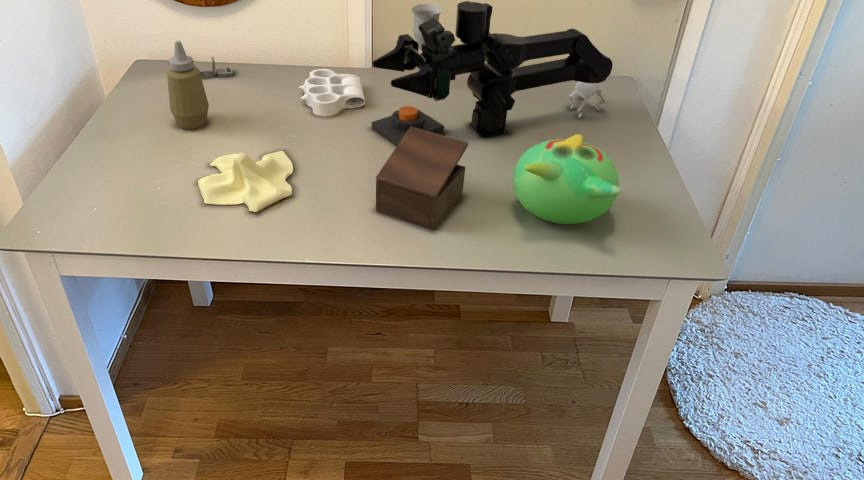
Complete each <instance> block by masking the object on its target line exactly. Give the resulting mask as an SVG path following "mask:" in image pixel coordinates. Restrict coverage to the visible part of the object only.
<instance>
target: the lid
mask: <svg viewBox="0 0 864 480" xmlns="http://www.w3.org/2000/svg"><path fill="white" fill-rule="evenodd" d="M468 147H469V142H468V141H464V140H461V139H457V138H453V137H450V136H447V135H443V134H436V133H433V132H429V131H426V130H422V129H419V128H415V127H412V126H410V128H409V129H408V131H407V132H406V134H405V135H404V137H403V138H402V139H401V141H400V142H399V144H398V145H397V146H395V148H394V150H393V151H392V153H391V154H390V155H389V157H388V158H387V160H386V162H385V163H384V164H383V166H382V168H381V169H380V170H379V171H378V173H377V175H376V177H375V180H376V181H381V182H384V183H387V184H390V185H393V186H396V187H399V188H402V189H405V190H408V191H412V192H415V193H418V194H421V195H424V196H427V197H430V198H433V199H436V198H437V196H438V194H439V193H440V191H441V189H442V188H443V186H444V185H445V183H446V181H447V180H448V178H449V176H450V175H451V173H452V171H453V170H454V168H455V167H456V165H457V164H458V163H459V162H460V160H461V158H462V157H463V155H464V153H465V152H466V150H467V148H468Z"/></svg>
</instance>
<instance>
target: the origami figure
mask: <svg viewBox="0 0 864 480" xmlns="http://www.w3.org/2000/svg"><path fill="white" fill-rule="evenodd" d="M601 92H602V89H600V88H598V87H597V86H595V85H593V83H583V82H578V81H577V82H576V84H575V88H574V90H573V92H572V93H570V95H569V96H568V98H569V100H570V102H571V104H572V105H571V106H570V110H573V108H574V106H575V104H574V101H573V98H572V96H574V95H575V94H577V95H578V96H579V98H581V99H584V100H583V102H582V103H581V105H580V107H578V109H577V112H578V113H579V115H578V116H577V117H578V118H581V117H582V115H583V112H582V109H583V108H584V106H585V104H586V102H587V100H588V99H590V98H591V97H592V96H594V95H595V94H596V95H597V96H598V97H599V99H601V100H598V101H596V102H595V103H593V104H592V107H594V108H595V109H596V110H597V111H599V112H600V111H601V109H600V108H598V107H597V106H599V105H601V104H605V103H607V102H608V100H607V99H606V97H604V95H603V93H601Z"/></svg>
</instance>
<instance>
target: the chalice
mask: <svg viewBox="0 0 864 480" xmlns="http://www.w3.org/2000/svg"><path fill="white" fill-rule="evenodd" d="M411 11H412V14H413V17H412V18H413V19H412V33H413V38H414V40H415V41H416V42H417V43H418V44H419V47H418V50H420V51H422V50H421V44H425V42H424V40H423V36H422V33H421V31H420V30H419V27H418V26H419V25H420V24H422V23H424V22H426V21H428V20H429V19H431V18H434V19H436V20H437V21H438V22H439V23H440V15H441V13H442V11H443V10H442V8H441V7H440V6H438V5H436V4H431V3H420V4H416V5H414V6H412V7H411Z"/></svg>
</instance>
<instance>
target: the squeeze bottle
mask: <svg viewBox="0 0 864 480" xmlns="http://www.w3.org/2000/svg"><path fill="white" fill-rule="evenodd" d="M173 54H174V55H173V56H172V57H171V58H170V59H169V60H168V61H169V62H168V63H169V67H170V68H169V69H168V70H167V72H166V77H167V89H168V102H169V111H170V112H171V115H172V116H173V118H174V120H175V121H176V123H177V124H178V126H179V127H180V128H182V129H187V130H193V129H198V128H201V127H203V126H204V125H205V124H206V123H207V118H208V112H209V107H210V105H209V101H208V97H207V93H206V88H205V86H204V82H203V78H201V76H202V74H200V72H201V71H200V69H199V68H198V67H197V66H195V64H194V58H193V57H192V56H190V55H188V54H187V53H186V50H185V48H184V46H183V42H182V41H181V40H175V41H174V53H173Z"/></svg>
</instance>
